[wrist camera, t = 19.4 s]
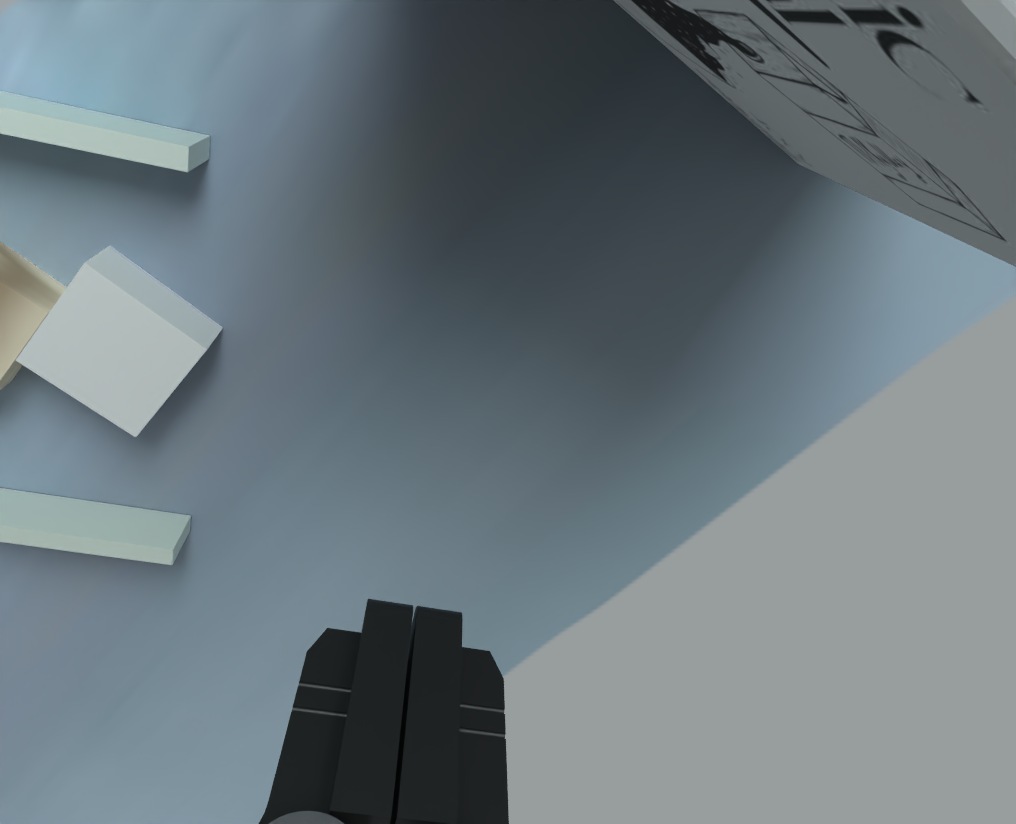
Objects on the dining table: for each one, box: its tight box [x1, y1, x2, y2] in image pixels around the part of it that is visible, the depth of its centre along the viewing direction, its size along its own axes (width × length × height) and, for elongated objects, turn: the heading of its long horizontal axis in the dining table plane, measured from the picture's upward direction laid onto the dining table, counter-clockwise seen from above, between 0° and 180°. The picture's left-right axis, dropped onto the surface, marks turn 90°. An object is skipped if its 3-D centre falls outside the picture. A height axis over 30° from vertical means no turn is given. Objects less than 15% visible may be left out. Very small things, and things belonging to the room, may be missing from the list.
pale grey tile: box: [16, 246, 223, 437], centre depth 37 cm, size 6×6×3 cm
